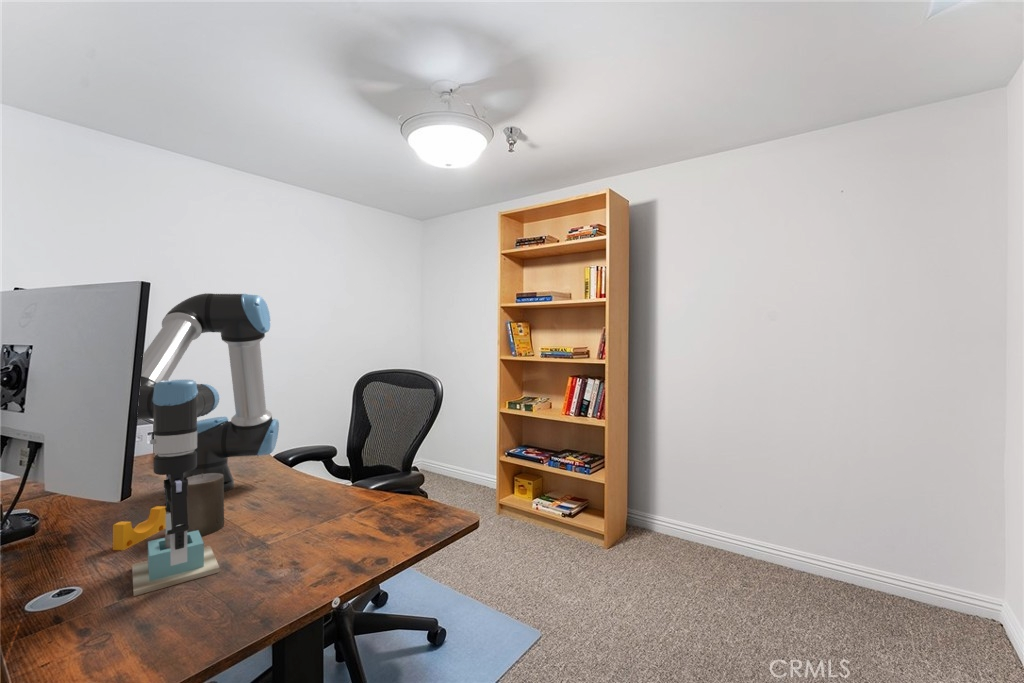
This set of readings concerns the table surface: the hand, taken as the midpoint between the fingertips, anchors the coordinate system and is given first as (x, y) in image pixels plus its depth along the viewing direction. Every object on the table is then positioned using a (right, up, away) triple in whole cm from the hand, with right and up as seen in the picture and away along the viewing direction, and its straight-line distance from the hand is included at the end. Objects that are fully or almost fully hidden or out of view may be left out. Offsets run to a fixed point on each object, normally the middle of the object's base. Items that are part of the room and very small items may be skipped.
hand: (175, 551), depth 97 cm
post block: (0, -4, 0) cm, 4 cm away
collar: (0, -3, 0) cm, 3 cm away
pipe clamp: (-21, -4, +15) cm, 26 cm away
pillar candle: (-8, -4, +20) cm, 22 cm away
